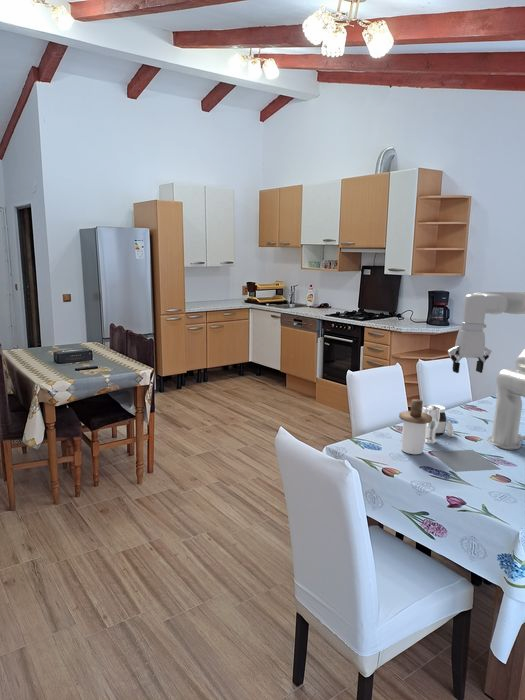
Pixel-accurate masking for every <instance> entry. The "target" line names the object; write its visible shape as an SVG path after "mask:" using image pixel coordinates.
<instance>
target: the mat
mask: <svg viewBox="0 0 525 700" xmlns="http://www.w3.org/2000/svg"><path fill="white" fill-rule="evenodd" d="M430 453H431V454H432V455H434V456H435V457H436V458H437V459H439V460H440V461H441V462H443V463H444V464H445V465H446V466H447V467H448V468H450V469H451V470H452V471H453V472H454V473H455V472H471V471H472V472H474V471H477V472H478V471H492V470H493V471H494V470H501V468H500V467H499V466H497V465H495V464H494V463H493V462H491V461H489V460H488V459H487V458H486V457H484V456H482V455H481V454H479V453H478V452H476V450H473V449H460V450H458V449H457V450H440V451H439V450H436V451H435V450H434V451H430Z"/></svg>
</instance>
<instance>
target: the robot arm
mask: <svg viewBox="0 0 525 700" xmlns="http://www.w3.org/2000/svg"><path fill="white" fill-rule="evenodd" d="M463 305H464V306H463V313H462V322H461V329H459V330H458V333H457V336H456V339H455V345H454V346H453V347H452V348H450V349H448V350H447V354H448V355H449V356H448V357H449V358H450V359H451V361H452V372H454V373H456V374H459V373H460V364H461V362H460V361H461V359H462V358H463V359H473V358H474V359H475V358H477V361H476V367H475V372H478V373H480V374H482V373H483V370H484V363H486V361H487V360H489V357H490V355H491V353H492V350H491V349H489V348H488V347H486V335H485V331H484V330H485V329H486V328H487V324H485V319H486V317H485V316H486V314H490V315H501V314H502V313H504V314H511V315H513V314H514V315H525V292H524V291H505V292H504V291H477V292H474V293H469V294H466V295H465V297H464V304H463ZM514 362H515V363H514V365H515V368H516V369H515V368H511V367H509V368H508V367H507V368H503V369H501V370H500V371H498V373H497V374H496V378H495V379H496V380H495V385H496V401H495V402H496V403H495V410H494V416H493V425H492V432H491V436H489V437H487V440H486V441H487V442H488V443H489V444H490V445H493V446H495V447H496V448H498V449H502V450H510V451H511V450H512V451H513V450H519V449H520V448H521V447H522V443H521V442H522V441H525V435H522V434H519V430H520V423H521V416H522V410H523V400H522V398H525V348H524V349H523V350H522V351H521V352H520V354H519V355H518V356H517V358H516V359H515V361H514Z"/></svg>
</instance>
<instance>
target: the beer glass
mask: <svg viewBox="0 0 525 700" xmlns="http://www.w3.org/2000/svg"><path fill="white" fill-rule="evenodd" d="M434 405H435V404H425V405H422V412H423V413H426V414H429V415H430V416H432V421H431V422H430V423H426V432H425V441H424V444H435V443H437V440H436V437H437V436H436V431H437V428H438V424H439V419H440V408H439V407H437V406H434Z"/></svg>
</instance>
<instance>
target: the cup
mask: <svg viewBox="0 0 525 700" xmlns="http://www.w3.org/2000/svg"><path fill="white" fill-rule="evenodd" d="M425 432H426V423H425V424H417V423H411V422H407V421H404V420H403V425H402V433H401V450H402V452H404V453H406V454H409V455H410V454H411V455H420V454H423V452H424V446H425V442H424V441H425Z"/></svg>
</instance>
